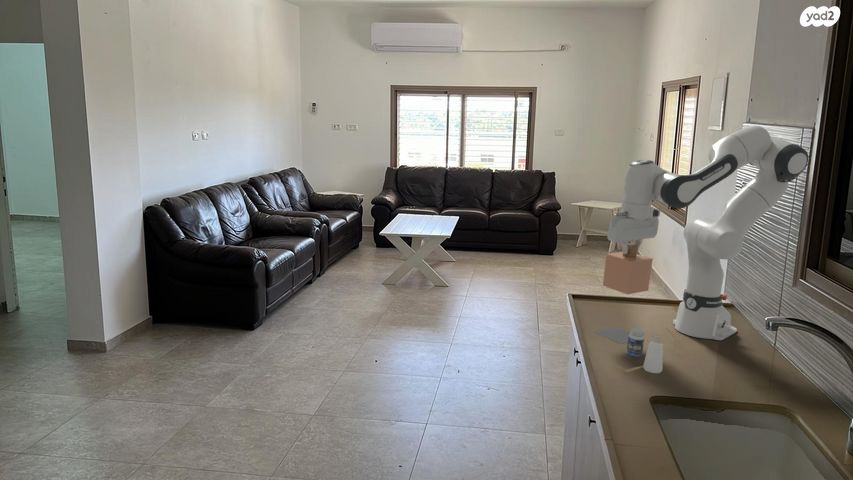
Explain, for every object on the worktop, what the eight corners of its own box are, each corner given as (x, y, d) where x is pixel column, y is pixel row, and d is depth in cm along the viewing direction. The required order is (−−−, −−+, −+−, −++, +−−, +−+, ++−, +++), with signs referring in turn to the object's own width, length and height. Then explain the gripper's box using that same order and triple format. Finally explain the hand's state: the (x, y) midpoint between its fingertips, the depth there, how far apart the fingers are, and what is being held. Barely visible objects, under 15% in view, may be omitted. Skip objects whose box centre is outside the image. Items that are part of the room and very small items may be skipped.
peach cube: (623, 282, 215) (629, 239, 211) (648, 290, 206) (654, 246, 203) (602, 285, 209) (608, 242, 206) (627, 294, 201) (633, 249, 197)
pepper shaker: (662, 375, 183) (667, 339, 181) (642, 371, 185) (647, 336, 183) (662, 367, 188) (667, 333, 186) (643, 364, 190) (648, 330, 188)
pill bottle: (625, 356, 196) (628, 330, 194) (626, 350, 200) (630, 325, 198) (641, 359, 194) (645, 333, 192) (642, 353, 198) (646, 328, 196)
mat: (616, 327, 220) (616, 326, 220) (643, 339, 210) (644, 338, 210) (593, 333, 213) (593, 331, 213) (620, 345, 204) (620, 343, 204)
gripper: (621, 214, 194) (615, 258, 197) (663, 211, 205) (658, 252, 208) (605, 211, 199) (600, 253, 202) (647, 207, 210) (642, 248, 213)
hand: (630, 252), depth 205 cm, fingers closed on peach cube, 3 cm apart
